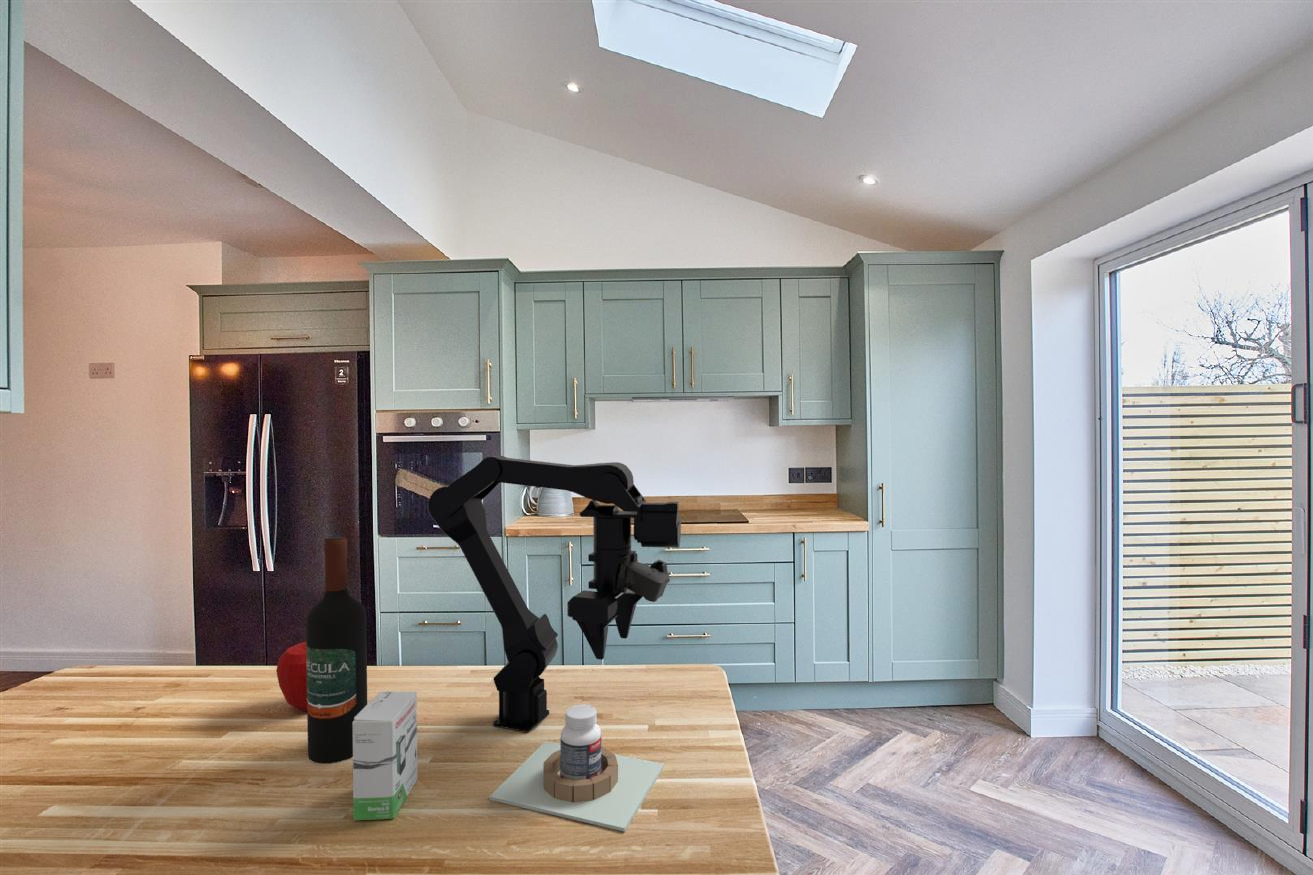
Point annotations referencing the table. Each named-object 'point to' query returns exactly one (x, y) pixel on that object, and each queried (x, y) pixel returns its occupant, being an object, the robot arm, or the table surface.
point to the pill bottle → (580, 744)
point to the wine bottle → (335, 662)
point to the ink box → (384, 755)
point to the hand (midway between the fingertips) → (612, 648)
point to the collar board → (581, 811)
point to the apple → (294, 676)
